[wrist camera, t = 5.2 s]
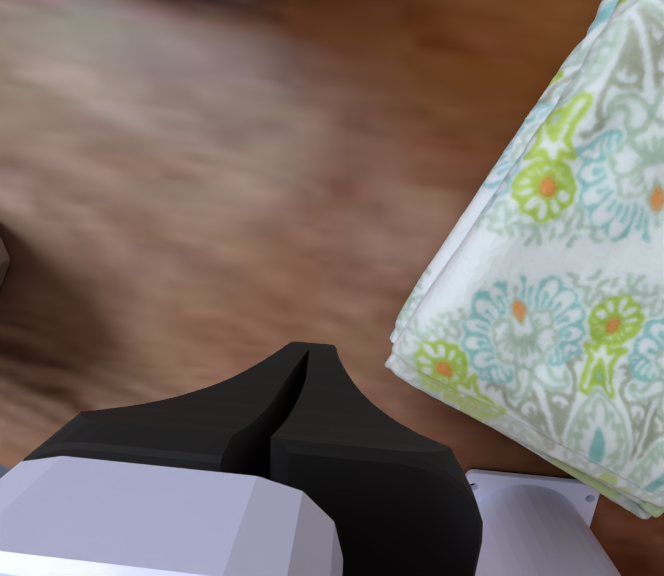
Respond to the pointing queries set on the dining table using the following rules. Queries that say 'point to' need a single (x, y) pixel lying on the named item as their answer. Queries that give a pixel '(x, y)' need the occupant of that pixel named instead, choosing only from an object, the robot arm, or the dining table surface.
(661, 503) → the towel
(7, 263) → the ceramic cup
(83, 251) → the dining table surface
